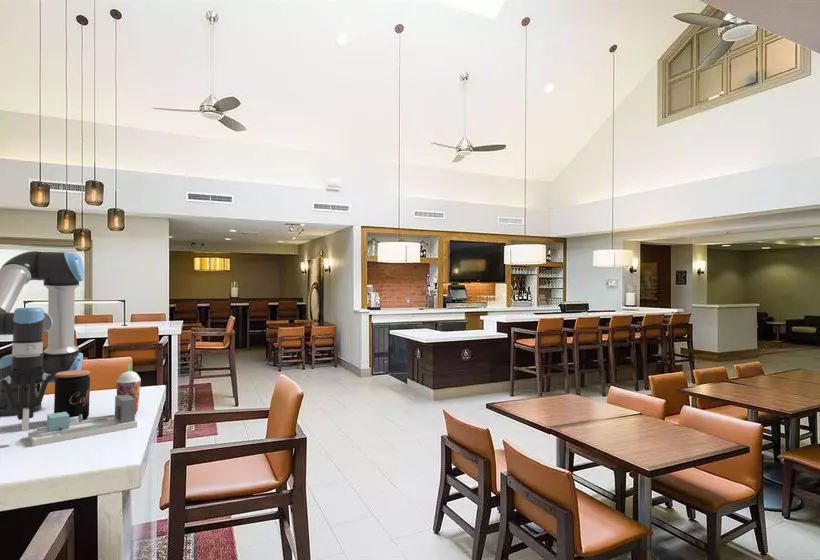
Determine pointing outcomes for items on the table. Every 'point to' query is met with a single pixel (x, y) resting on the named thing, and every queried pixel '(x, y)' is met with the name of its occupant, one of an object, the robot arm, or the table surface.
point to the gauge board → (91, 424)
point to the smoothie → (129, 385)
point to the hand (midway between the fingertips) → (25, 428)
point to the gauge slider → (60, 421)
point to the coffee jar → (72, 393)
